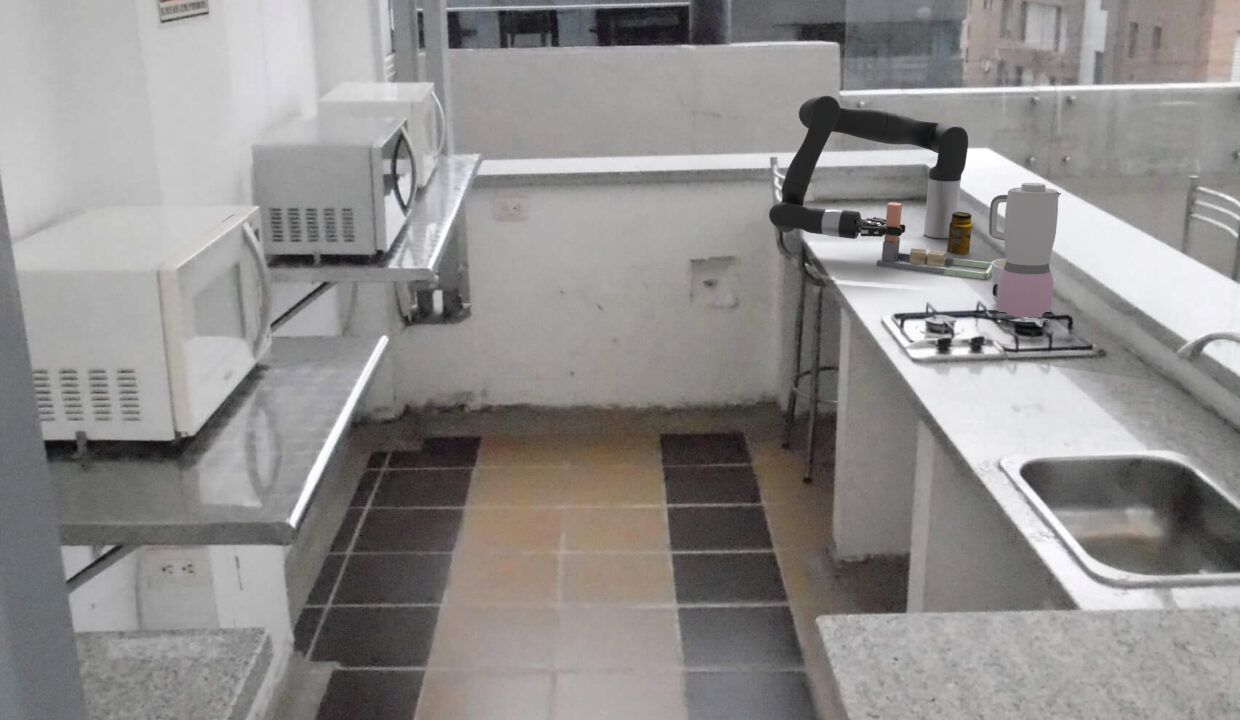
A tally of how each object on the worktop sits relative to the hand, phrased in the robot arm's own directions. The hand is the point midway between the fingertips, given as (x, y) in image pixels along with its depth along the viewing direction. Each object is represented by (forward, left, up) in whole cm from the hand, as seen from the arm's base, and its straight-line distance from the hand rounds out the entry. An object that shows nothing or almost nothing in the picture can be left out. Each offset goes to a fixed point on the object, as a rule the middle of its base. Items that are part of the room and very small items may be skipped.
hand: (903, 230), depth 320 cm
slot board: (0, +4, -10) cm, 11 cm away
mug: (+23, +34, -10) cm, 42 cm away
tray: (0, +19, -10) cm, 21 cm away
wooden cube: (0, +5, -9) cm, 10 cm away
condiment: (-19, +11, -10) cm, 24 cm away
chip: (0, +10, -9) cm, 13 cm away
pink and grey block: (0, -3, -9) cm, 9 cm away
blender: (+37, +36, -10) cm, 53 cm away
